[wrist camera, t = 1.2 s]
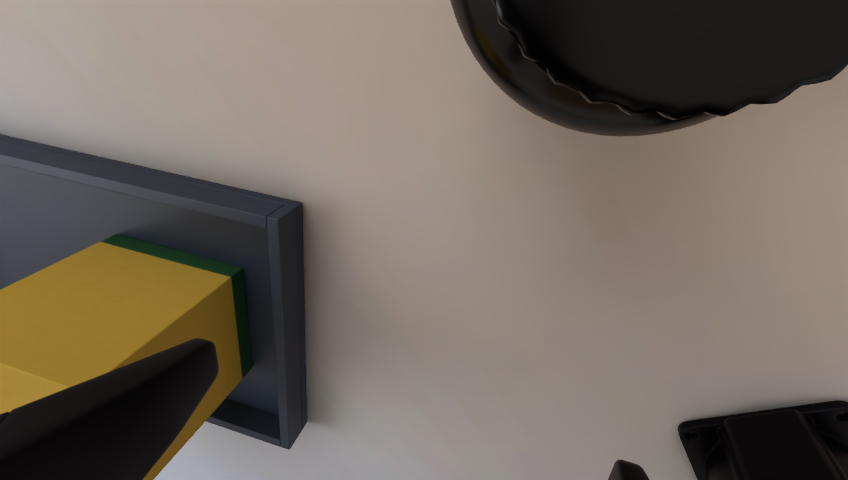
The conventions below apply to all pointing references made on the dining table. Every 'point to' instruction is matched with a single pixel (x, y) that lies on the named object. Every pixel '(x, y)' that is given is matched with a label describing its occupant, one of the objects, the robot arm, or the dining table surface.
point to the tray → (181, 230)
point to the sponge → (121, 322)
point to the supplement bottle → (652, 56)
